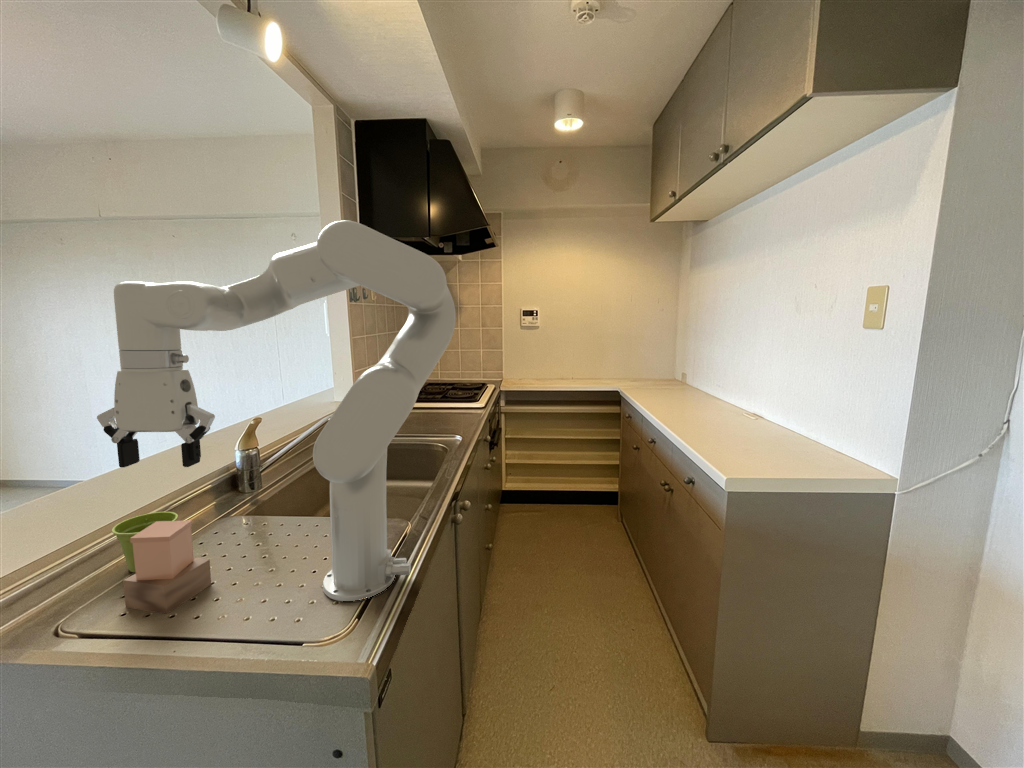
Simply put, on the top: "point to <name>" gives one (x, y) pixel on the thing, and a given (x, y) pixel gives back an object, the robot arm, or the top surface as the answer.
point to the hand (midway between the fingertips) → (160, 464)
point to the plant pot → (137, 531)
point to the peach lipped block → (162, 550)
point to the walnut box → (167, 588)
